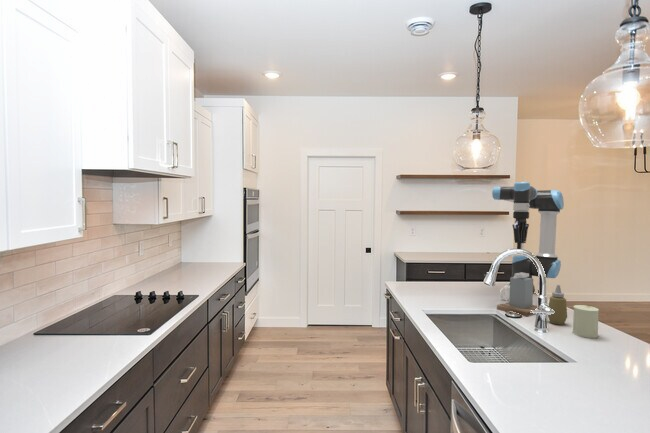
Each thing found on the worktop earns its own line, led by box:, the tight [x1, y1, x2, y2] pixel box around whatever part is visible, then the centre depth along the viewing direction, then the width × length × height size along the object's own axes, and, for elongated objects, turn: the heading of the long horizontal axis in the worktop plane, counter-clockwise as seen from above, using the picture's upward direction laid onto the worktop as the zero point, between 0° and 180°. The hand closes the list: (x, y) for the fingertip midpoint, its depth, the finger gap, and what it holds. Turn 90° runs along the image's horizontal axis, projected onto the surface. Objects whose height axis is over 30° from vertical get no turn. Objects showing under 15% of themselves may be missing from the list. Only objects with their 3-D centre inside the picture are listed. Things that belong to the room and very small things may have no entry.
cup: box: [499, 284, 510, 302], centre depth 221 cm, size 7×10×8 cm
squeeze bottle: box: [547, 284, 568, 326], centre depth 179 cm, size 8×8×18 cm
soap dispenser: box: [508, 276, 534, 309], centre depth 201 cm, size 8×8×15 cm
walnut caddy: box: [496, 301, 538, 317], centre depth 201 cm, size 18×16×2 cm
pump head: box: [514, 272, 529, 279], centre depth 199 cm, size 10×4×10 cm, turn 125°
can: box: [572, 304, 600, 339], centre depth 165 cm, size 9×9×12 cm
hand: (520, 255), depth 204 cm, fingers closed
